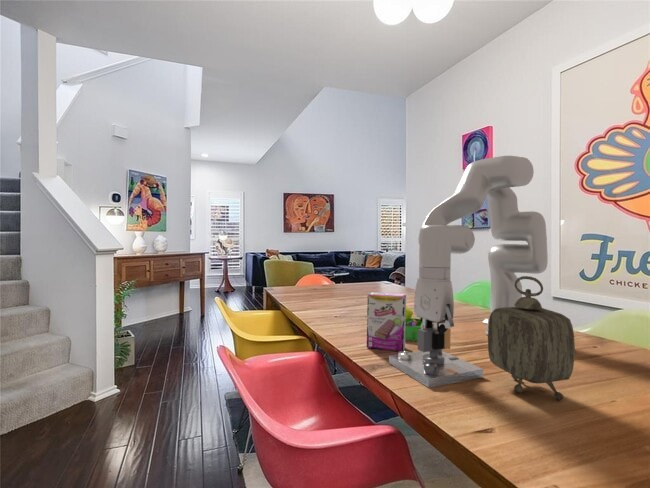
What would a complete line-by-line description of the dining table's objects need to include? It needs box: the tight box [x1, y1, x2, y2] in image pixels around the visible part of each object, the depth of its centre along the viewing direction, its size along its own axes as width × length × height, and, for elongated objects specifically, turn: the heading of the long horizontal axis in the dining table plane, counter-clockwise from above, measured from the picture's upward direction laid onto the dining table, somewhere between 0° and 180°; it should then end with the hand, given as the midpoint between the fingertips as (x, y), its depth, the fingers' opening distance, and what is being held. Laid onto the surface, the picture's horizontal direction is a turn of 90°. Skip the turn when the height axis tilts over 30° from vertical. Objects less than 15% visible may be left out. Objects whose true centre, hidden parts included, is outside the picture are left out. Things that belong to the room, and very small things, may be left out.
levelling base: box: [388, 350, 484, 389], centre depth 84 cm, size 16×16×4 cm
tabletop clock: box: [487, 275, 576, 401], centre depth 73 cm, size 14×9×25 cm, turn 17°
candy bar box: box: [366, 291, 407, 352], centre depth 101 cm, size 11×5×16 cm, turn 71°
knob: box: [417, 328, 451, 365], centre depth 84 cm, size 5×8×8 cm, turn 112°
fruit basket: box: [405, 306, 423, 342], centre depth 114 cm, size 11×9×11 cm
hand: (433, 346), depth 84 cm, fingers open, 2 cm apart
